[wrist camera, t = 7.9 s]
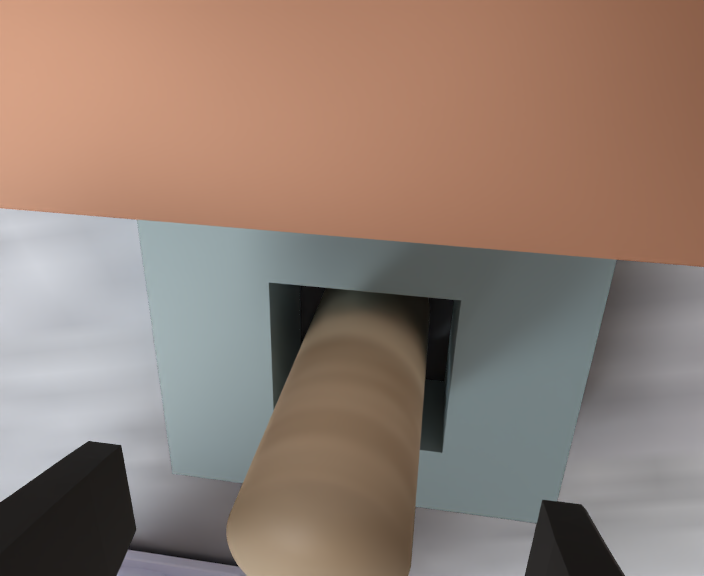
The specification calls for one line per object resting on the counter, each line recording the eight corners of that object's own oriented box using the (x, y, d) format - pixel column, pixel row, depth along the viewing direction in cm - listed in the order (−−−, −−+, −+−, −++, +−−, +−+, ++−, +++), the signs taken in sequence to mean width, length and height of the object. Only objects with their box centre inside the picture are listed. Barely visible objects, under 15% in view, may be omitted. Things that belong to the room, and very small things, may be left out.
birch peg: (429, 359, 17) (410, 621, 10) (325, 353, 18) (238, 601, 11) (431, 261, 16) (412, 486, 9) (318, 258, 16) (214, 469, 9)
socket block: (537, 444, 18) (551, 525, 15) (211, 405, 19) (172, 473, 16) (645, -62, 12) (699, -76, 9) (165, -74, 13) (93, -87, 11)
